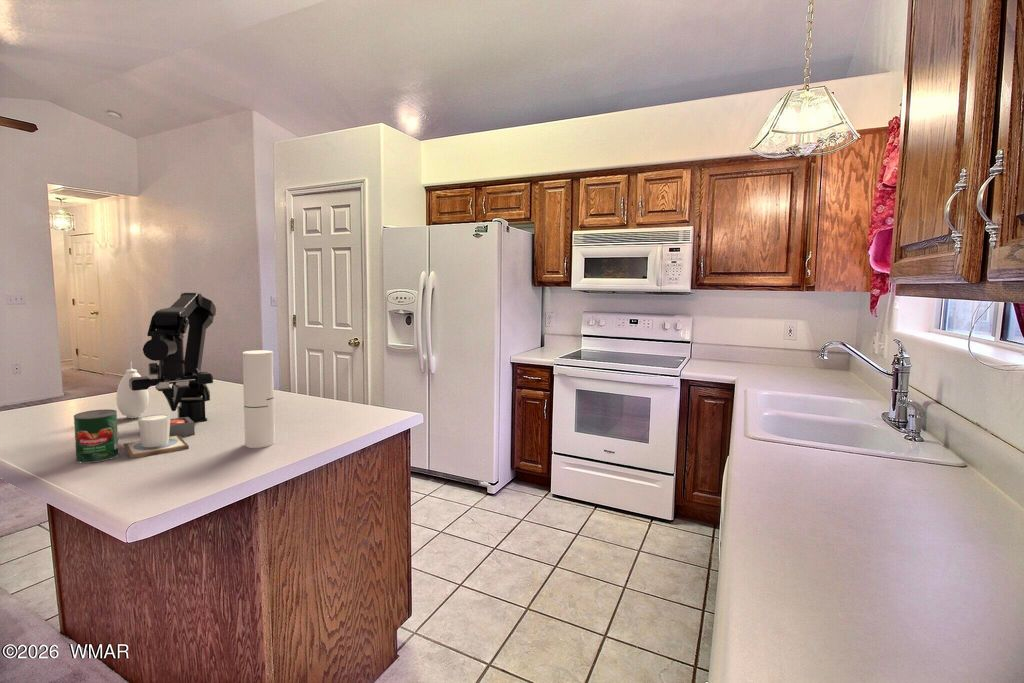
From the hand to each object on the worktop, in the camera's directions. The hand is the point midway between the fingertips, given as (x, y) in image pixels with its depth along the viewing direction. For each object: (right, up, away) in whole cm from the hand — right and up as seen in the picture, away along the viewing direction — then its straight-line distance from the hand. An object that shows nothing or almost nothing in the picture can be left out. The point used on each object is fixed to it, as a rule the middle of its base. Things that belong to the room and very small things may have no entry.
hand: (173, 410), depth 137 cm
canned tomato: (-5, -9, -19) cm, 22 cm away
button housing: (0, -7, +1) cm, 7 cm away
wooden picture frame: (+3, -8, -11) cm, 14 cm away
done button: (0, -5, +1) cm, 5 cm away
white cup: (+3, -7, -11) cm, 14 cm away
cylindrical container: (+27, -8, -6) cm, 29 cm away
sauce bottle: (-23, -5, +16) cm, 29 cm away
